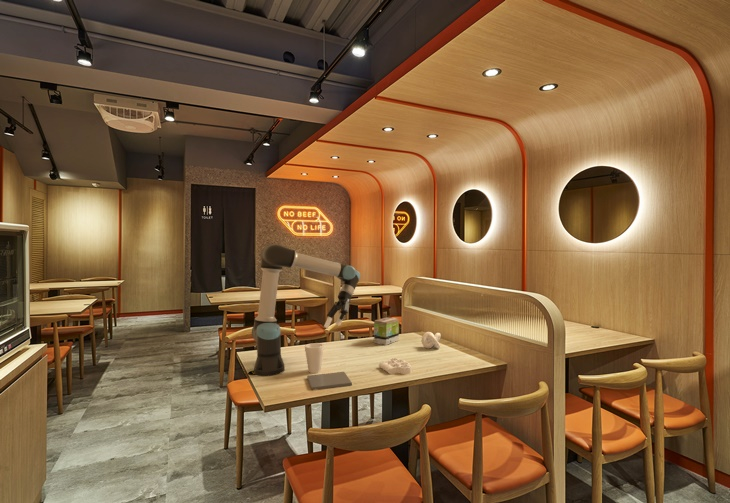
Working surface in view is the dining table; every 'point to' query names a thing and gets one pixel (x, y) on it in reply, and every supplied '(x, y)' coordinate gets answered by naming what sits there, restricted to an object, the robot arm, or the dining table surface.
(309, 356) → the foam cup
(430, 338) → the pretzel
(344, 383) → the tile
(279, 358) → the robot arm
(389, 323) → the tea box
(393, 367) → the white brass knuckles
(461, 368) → the dining table surface
